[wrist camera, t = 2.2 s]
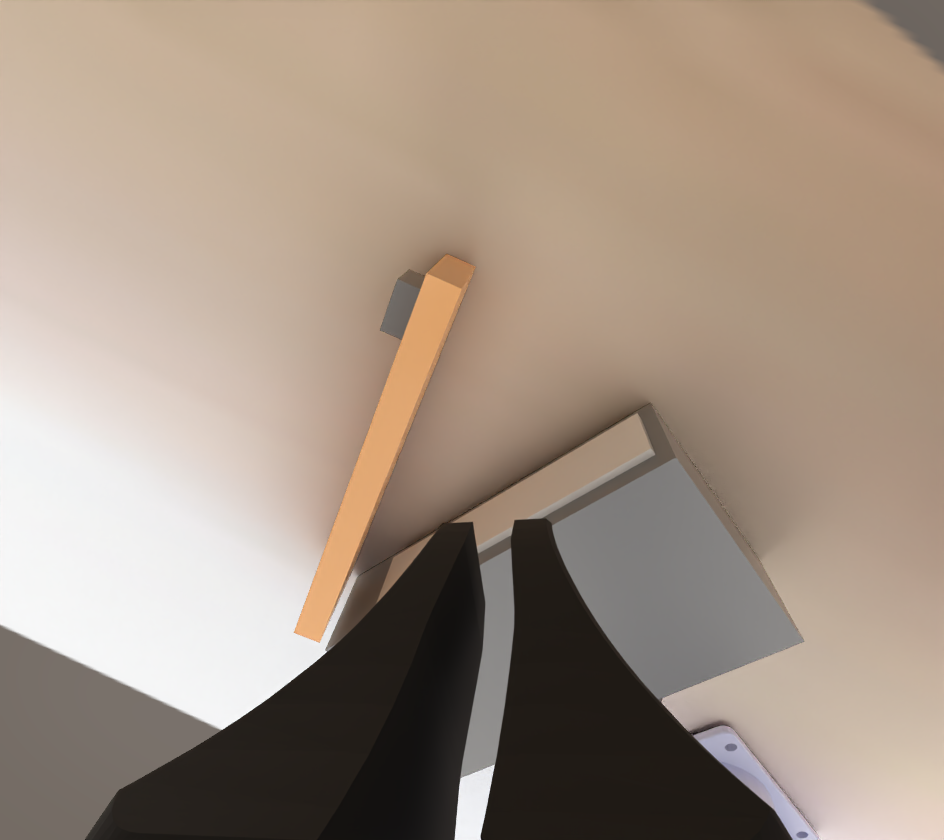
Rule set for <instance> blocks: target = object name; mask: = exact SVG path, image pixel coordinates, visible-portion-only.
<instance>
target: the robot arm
mask: <svg viewBox="0 0 944 840" xmlns="http://www.w3.org/2000/svg"><path fill="white" fill-rule="evenodd" d="M511 557H512V575H513V593H514V633H513V642H512V651H511V660H510V669H509V676H508V684H507V692H506V699H505V707H504V713H503V719H502V726H501V732H500V738H499V745H498V751H497V757H496V762H495V767H494V773H493V778H492V783H491V788H490V793H489V798H488V804H487V809H486V814H485V818H484V823H483V828H482V832H481V840H820V838H819V836H818V834H817V833H816V832H815V831H814V829H813V828H812V827H811V826H810V824H809V823H808V822H807V821H806V819H805V818H804V817H803V816H802V814H801V813H800V812H799V811H798V809H797V808H796V807H795V806H794V804H793V803H792V802H791V801H790V799H789V798H788V797H787V796H786V794H785V793H784V792H783V791H782V789H781V788H780V787H779V786H778V784H777V783H776V782H775V781H774V779H773V778H772V777H771V776H770V774H769V773H768V772H767V771H766V769H765V768H764V767H763V766H762V764H761V763H760V762H759V761H758V759H757V758H756V757H755V756H754V754H753V753H752V752H751V751H750V749H749V748H748V747H747V746H746V744H745V743H744V742H743V741H742V739H741V738H740V737H739V736H738V734H737V733H736V732H735V731H734V730H733V729H732V728H731V727H728V726H718V727H715V728H712V729H709V730H707V731H704V732H701V733H698V734H696V735H693V736H692V735H691V734H690V733H689V732H688V731H687V730H686V729H685V728H684V727H683V726H682V725H681V724H680V723H679V722H678V720H677V719H676V718H675V717H674V716H673V715H672V714H671V713H670V712H669V711H668V710H667V709H666V707H665V706H664V705H663V704H662V703H661V702H660V701H659V700H658V699H657V698H656V697H655V695H654V694H653V693H652V692H651V691H650V690H649V689H648V688H647V687H646V686H645V685H644V683H643V682H642V681H641V680H640V679H639V677H638V676H637V675H636V674H635V672H634V671H633V670H632V669H631V667H630V666H629V665H628V664H627V663H626V661H625V660H624V659H623V657H622V656H621V655H620V653H619V652H618V651H617V649H616V648H615V647H614V645H613V644H612V643H611V641H610V640H609V639H608V637H607V636H606V634H605V633H604V631H603V630H602V628H601V627H600V625H599V624H598V622H597V621H596V619H595V618H594V616H593V615H592V613H591V611H590V610H589V608H588V607H587V605H586V603H585V602H584V600H583V598H582V596H581V595H580V593H579V591H578V589H577V587H576V585H575V584H574V582H573V580H572V578H571V576H570V574H569V572H568V570H567V568H566V566H565V564H564V562H563V559H562V557H561V554H560V552H559V549H558V547H557V544H556V541H555V538H554V534H553V530H552V523H551V522H550V521H549V520H547V519H546V518H541V519H521V520H514V525H513V529H512V535H511ZM485 603H486V602H485V596H484V590H483V583H482V577H481V570H480V564H479V558H478V551H477V545H476V539H475V532H474V526H473V522H459V523H443V524H442V525H441V526H440V527H439V528H438V530H437V531H436V532H435V533H434V535H433V536H432V537H431V538H430V540H429V541H428V542H427V544H426V545H425V546H424V548H423V549H422V550H421V551H420V553H419V554H418V555H417V556H416V558H415V559H414V560H413V561H412V563H411V564H410V565H409V566H408V568H407V569H406V570H405V571H404V572H403V574H402V575H401V576H400V577H399V578H398V580H397V581H396V582H395V583H394V584H393V586H392V587H391V588H390V589H389V590H388V591H387V593H386V594H385V595H384V596H383V597H382V598H381V599H380V600H379V601H378V602H377V603H376V604H375V606H374V607H373V608H372V609H371V610H370V611H369V612H368V613H367V614H366V615H365V616H364V617H363V618H362V619H361V621H360V622H359V623H358V624H357V625H356V626H355V627H354V628H353V629H352V630H351V631H350V632H349V633H348V634H346V635H345V636H344V637H343V638H342V639H341V640H340V641H339V642H338V643H337V644H336V645H334V646H333V647H332V648H331V649H330V650H329V651H328V652H327V653H325V654H324V655H323V656H322V657H321V658H320V659H319V660H317V661H316V662H315V663H314V664H313V665H311V666H310V667H309V668H307V669H306V670H305V671H304V672H302V673H301V674H300V675H298V676H297V677H296V678H295V679H293V680H292V681H291V682H289V683H288V684H287V685H285V686H284V687H283V688H282V689H280V690H279V691H278V692H276V693H275V694H274V695H273V696H271V697H270V698H269V699H267V700H266V701H264V702H263V703H262V704H260V705H259V706H257V707H256V708H254V709H253V710H252V711H250V712H249V713H247V714H246V715H244V716H243V717H241V718H240V719H238V720H237V721H235V722H234V723H232V724H231V725H229V726H228V727H226V728H225V729H223V730H221V731H220V732H218V733H217V734H215V735H214V736H212V737H211V738H209V739H207V740H206V741H204V742H203V743H201V744H199V745H198V746H196V747H194V748H193V749H191V750H189V751H188V752H186V753H184V754H182V755H181V756H179V757H177V758H175V759H174V760H172V761H170V762H168V763H167V764H165V765H163V766H161V767H160V768H158V769H156V770H154V771H152V772H151V773H149V774H147V775H145V776H144V777H142V778H140V779H138V780H137V781H135V782H133V783H131V784H130V785H127V786H126V787H124V788H122V789H120V790H119V791H118V792H117V793H116V795H115V796H114V798H113V799H112V800H111V802H110V803H109V805H108V806H107V808H106V809H105V811H104V812H103V813H102V815H101V816H100V818H99V819H98V821H97V822H96V824H95V825H94V827H93V828H92V830H91V831H90V833H89V834H88V836H87V837H86V839H85V840H454V838H455V827H456V816H457V804H458V793H459V784H460V777H461V770H462V763H463V757H464V751H465V746H466V740H467V735H468V729H469V724H470V718H471V713H472V707H473V702H474V696H475V691H476V685H477V680H478V674H479V668H480V663H481V657H482V651H483V638H484V621H485Z"/></svg>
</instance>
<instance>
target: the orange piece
mask: <svg viewBox="0 0 944 840" xmlns="http://www.w3.org/2000/svg"><path fill="white" fill-rule="evenodd" d="M474 270H475V266H473V265H471V264H468V263H466V262H464V261H462V260H459V259H457V258H455V257H453V256H450V255H448V254H446V255H445V256H444V257H443V258H442V259H441V260H440V261H439V262H438V263H437V264H436V265H435V266H434V267H432V268H431V269H430V270H429V271H428V272H427V273H426V276H423V275H421V274H419V273H416V272H414V271H412V270H410V269H409V270H408V271H407V272H406V273H404V274H403V275H402V276H401V277H400V278H398V279H397V282H396V285H395V288H394V291H393V294H392V296H391V299H390V302H389V305H388V308H387V311H386V314H385V317H384V319H383V322H382V325H381V328H380V331H383V332H385V333H387V334H390V335H392V336H394V337H397V338H399V339H401V340H402V341H401V344H400V346H399V349H398V352H397V354H396V357H395V360H394V363H393V365H392V368H391V371H390V373H389V376H388V379H387V382H386V384H385V387H384V390H383V392H382V395H381V398H380V400H379V403H378V406H377V409H376V411H375V414H374V417H373V419H372V422H371V425H370V428H369V430H368V433H367V436H366V438H365V441H364V444H363V447H362V449H361V452H360V455H359V457H358V460H357V463H356V465H355V468H354V471H353V474H352V476H351V479H350V482H349V484H348V487H347V490H346V493H345V495H344V498H343V501H342V503H341V506H340V509H339V512H338V514H337V517H336V520H335V522H334V525H333V528H332V531H331V533H330V536H329V539H328V541H327V544H326V547H325V549H324V552H323V555H322V558H321V560H320V563H319V566H318V568H317V571H316V574H315V577H314V579H313V582H312V585H311V587H310V590H309V593H308V596H307V598H306V601H305V604H304V606H303V609H302V612H301V614H300V617H299V620H298V623H297V625H296V628H295V631H294V633H296V634H298V635H301V636H304V637H306V638H309V639H311V640H314V641H316V642H319V643H320V641H321V638H322V636H323V634H324V632H325V630H326V628H327V625H328V623H329V621H330V619H331V617H332V614H333V612H334V610H335V608H336V606H337V604H338V601H339V599H340V597H341V595H342V593H343V591H344V588H345V586H346V584H347V582H348V580H349V577H350V575H351V572H352V570H353V568H354V565H355V563H356V560H357V558H358V555H359V553H360V550H361V548H362V545H363V543H364V540H365V538H366V536H367V533H368V531H369V528H370V526H371V523H372V521H373V518H374V516H375V513H376V511H377V508H378V506H379V504H380V501H381V499H382V496H383V494H384V491H385V489H386V486H387V484H388V481H389V479H390V477H391V474H392V472H393V469H394V467H395V464H396V462H397V459H398V457H399V454H400V452H401V449H402V447H403V445H404V442H405V440H406V437H407V435H408V432H409V430H410V427H411V425H412V422H413V420H414V417H415V415H416V413H417V410H418V408H419V405H420V403H421V400H422V398H423V395H424V393H425V390H426V388H427V385H428V383H429V381H430V378H431V376H432V373H433V371H434V368H435V366H436V363H437V361H438V358H439V356H440V353H441V351H442V349H443V346H444V344H445V341H446V339H447V336H448V334H449V331H450V329H451V326H452V324H453V321H454V319H455V317H456V314H457V312H458V309H459V307H460V304H461V302H462V299H463V297H464V294H465V292H466V289H467V287H468V285H469V282H470V280H471V277H472V275H473V272H474Z"/></svg>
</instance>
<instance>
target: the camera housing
mask: <svg viewBox="0 0 944 840" xmlns="http://www.w3.org/2000/svg"><path fill="white" fill-rule="evenodd" d="M541 518H546V519H547V520H549V521H550V522H551V523H552V530H553V534H554V538H555V541H556V544H557V547H558V549H559V552H560V554H561V557H562V559H563V562H564V564H565V566H566V568H567V570H568V572H569V574H570V576H571V578H572V580H573V582H574V584H575V585H576V587H577V589H578V591H579V593H580V595H581V596H582V598H583V600H584V602H585V603H586V605H587V607H588V608H589V610H590V611H591V613H592V615H593V616H594V618H595V619H596V621H597V622H598V624H599V625H600V627H601V628H602V630H603V631H604V633H605V634H606V636H607V637H608V639H609V640H610V641H611V643H612V644H613V645H614V647H615V648H616V649H617V651H618V652H619V653H620V655H621V656H622V657H623V659H624V660H625V661H626V663H627V664H628V665H629V666H630V667H631V669H632V670H633V671H634V672H635V674H636V675H637V676H638V677H639V679H640V680H641V681H642V682H643V683H644V685H645V686H646V687H647V688H648V689H649V690H650V691H651V692H652V693H653V694H654V695H655V697H656V698H657V699H658V700H659V701H660V702H661V701H662V698H663V697H666V696H668V695H671V694H673V693H676V692H678V691H681V690H683V689H686V688H688V687H691V686H693V685H696V684H699V683H701V682H704V681H706V680H709V679H711V678H714V677H716V676H719V675H721V674H724V673H726V672H729V671H731V670H734V669H736V668H739V667H741V666H744V665H746V664H749V663H751V662H754V661H756V660H759V659H762V658H764V657H767V656H769V655H772V654H774V653H777V652H779V651H782V650H784V649H787V648H789V647H792V646H794V645H797V644H799V643H802V642H804V640H803V638H802V636H801V634H800V633H799V631H798V629H797V627H796V625H795V624H794V622H793V620H792V618H791V616H790V614H789V613H788V611H787V609H786V607H785V605H784V604H783V602H782V600H781V598H780V596H779V595H778V593H777V591H776V589H775V587H774V586H773V584H772V582H771V580H770V578H769V577H768V575H767V573H766V571H765V569H764V568H763V566H762V564H761V562H760V560H759V559H758V558H757V556H756V555H755V553H754V552H753V550H752V549H751V547H750V546H749V545H748V543H747V542H746V540H745V539H744V537H743V536H742V534H741V533H740V531H739V530H738V529H737V527H736V526H735V524H734V523H733V521H732V520H731V518H730V517H729V516H728V514H727V513H726V511H725V510H724V508H723V507H722V505H721V504H720V502H719V501H718V500H717V498H716V497H715V495H714V494H713V492H712V491H711V489H710V488H709V487H708V485H707V484H706V482H705V481H704V479H703V478H702V476H701V475H700V473H699V472H698V471H697V469H696V468H695V466H694V465H693V463H692V462H691V460H690V459H689V458H688V456H687V455H686V453H685V452H684V450H683V449H682V447H681V446H680V444H679V443H678V442H677V440H676V439H675V437H674V436H673V434H672V433H671V431H670V430H669V429H668V427H667V426H666V424H665V423H664V421H663V420H662V418H661V417H660V415H659V414H658V413H657V411H656V410H655V408H654V407H653V405H652V404H651V403H649V404H648V405H646V406H644V407H643V408H641V409H639V410H638V411H636V412H634V413H632V414H631V415H629V416H627V417H626V418H624V419H622V420H621V421H619V422H617V423H616V424H614V425H612V426H611V427H609V428H607V429H606V430H604V431H602V432H600V433H599V434H597V435H595V436H594V437H592V438H590V439H589V440H587V441H585V442H584V443H582V444H580V445H579V446H577V447H575V448H574V449H572V450H570V451H569V452H567V453H565V454H563V455H562V456H560V457H558V458H557V459H555V460H553V461H552V462H550V463H548V464H547V465H545V466H543V467H542V468H540V469H538V470H537V471H535V472H533V473H531V474H530V475H528V476H526V477H525V478H523V479H521V480H520V481H518V482H516V483H515V484H513V485H511V486H510V487H508V488H506V489H505V490H503V491H501V492H499V493H498V494H496V495H494V496H493V497H491V498H489V499H488V500H486V501H484V502H483V503H481V504H479V505H478V506H476V507H474V508H473V509H471V510H469V511H467V512H466V513H464V514H462V515H461V516H459V517H457V518H456V519H454V520H452V521H451V522H449V523H459V522H473V526H474V532H475V539H476V545H477V551H478V558H479V564H480V570H481V577H482V583H483V590H484V596H485V602H486V603H485V621H484V638H483V651H482V657H481V663H480V668H479V674H478V680H477V685H476V691H475V696H474V702H473V707H472V713H471V718H470V724H469V729H468V735H467V740H466V746H465V751H464V757H463V763H462V770H461V777H460V778H462V777H464V776H467V775H469V774H472V773H474V772H477V771H479V770H482V769H484V768H487V767H489V766H492V765H494V764H495V762H496V757H497V751H498V745H499V738H500V732H501V726H502V719H503V713H504V707H505V699H506V692H507V684H508V676H509V669H510V660H511V651H512V642H513V633H514V593H513V575H512V557H511V535H512V529H513V525H514V520H521V519H541ZM437 530H438V529H437ZM437 530H436V531H437ZM436 531H434V532H432V533H430V534H429V535H427V536H425V537H424V538H422V539H420V540H419V541H417V542H415V543H414V544H412V545H410V546H409V547H407V548H405V549H404V550H402V551H400V552H398V553H397V554H395V555H393V556H392V557H390V558H388V559H387V560H385V561H383V562H382V563H380V564H378V565H377V566H375V567H373V568H372V569H370V570H368V571H366V572H365V573H363V574H361V575H360V576H358V577H357V579H356V582H355V584H354V586H353V588H352V591H351V593H350V595H349V597H348V600H347V602H346V604H345V607H344V609H343V611H342V613H341V616H340V618H339V620H338V622H337V625H336V627H335V629H334V631H333V634H332V636H331V638H330V640H329V643H328V645H327V647H326V651H327V652H328V651H329V650H330V649H331V648H332V647H333V646H334V645H336V644H337V643H338V642H339V641H340V640H341V639H342V638H343V637H344V636H345V635H346V634H348V633H349V632H350V631H351V630H352V629H353V628H354V627H355V626H356V625H357V624H358V623H359V622H360V621H361V619H362V618H363V617H364V616H365V615H366V614H367V613H368V612H369V611H370V610H371V609H372V608H373V607H374V606H375V604H376V603H377V602H378V601H379V600H380V599H381V598H382V597H383V596H384V595H385V594H386V593H387V591H388V590H389V589H390V588H391V587H392V586H393V584H394V583H395V582H396V581H397V580H398V578H399V577H400V576H401V575H402V574H403V572H404V571H405V570H406V569H407V568H408V566H409V565H410V564H411V563H412V561H413V560H414V559H415V558H416V556H417V555H418V554H419V553H420V551H421V550H422V549H423V548H424V546H425V545H426V544H427V542H428V541H429V540H430V538H431V537H432V536H433V535H434V533H435V532H436Z"/></svg>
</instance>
